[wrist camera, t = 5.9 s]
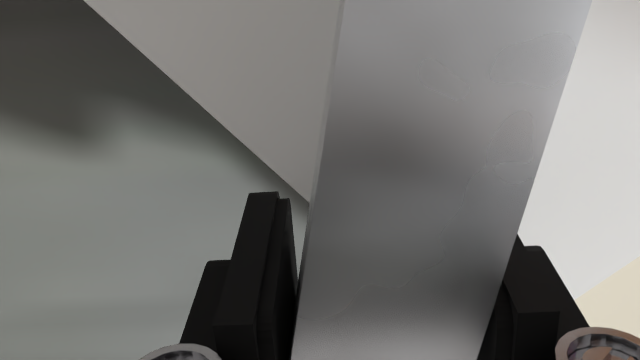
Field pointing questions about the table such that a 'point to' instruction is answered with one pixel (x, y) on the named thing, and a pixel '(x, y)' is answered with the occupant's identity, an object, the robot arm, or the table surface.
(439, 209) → the key
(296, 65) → the housing
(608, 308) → the mat
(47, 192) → the table surface
